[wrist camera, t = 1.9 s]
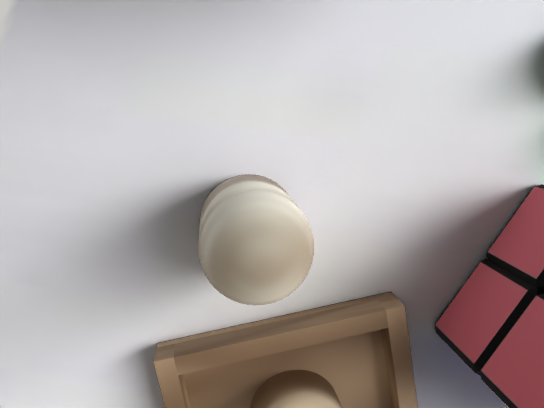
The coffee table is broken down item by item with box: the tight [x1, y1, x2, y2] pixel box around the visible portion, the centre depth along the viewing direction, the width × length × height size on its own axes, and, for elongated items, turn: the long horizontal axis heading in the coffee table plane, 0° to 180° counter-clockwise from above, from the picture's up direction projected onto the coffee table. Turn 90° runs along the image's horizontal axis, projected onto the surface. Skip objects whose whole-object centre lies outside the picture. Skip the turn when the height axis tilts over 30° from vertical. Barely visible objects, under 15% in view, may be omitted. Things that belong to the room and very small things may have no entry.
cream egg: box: [198, 175, 314, 305], centre depth 23 cm, size 5×5×7 cm
